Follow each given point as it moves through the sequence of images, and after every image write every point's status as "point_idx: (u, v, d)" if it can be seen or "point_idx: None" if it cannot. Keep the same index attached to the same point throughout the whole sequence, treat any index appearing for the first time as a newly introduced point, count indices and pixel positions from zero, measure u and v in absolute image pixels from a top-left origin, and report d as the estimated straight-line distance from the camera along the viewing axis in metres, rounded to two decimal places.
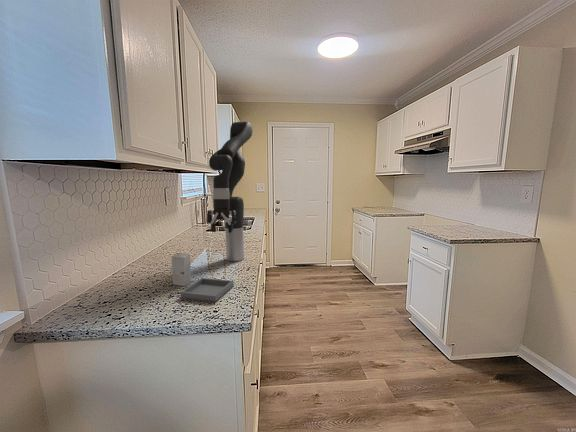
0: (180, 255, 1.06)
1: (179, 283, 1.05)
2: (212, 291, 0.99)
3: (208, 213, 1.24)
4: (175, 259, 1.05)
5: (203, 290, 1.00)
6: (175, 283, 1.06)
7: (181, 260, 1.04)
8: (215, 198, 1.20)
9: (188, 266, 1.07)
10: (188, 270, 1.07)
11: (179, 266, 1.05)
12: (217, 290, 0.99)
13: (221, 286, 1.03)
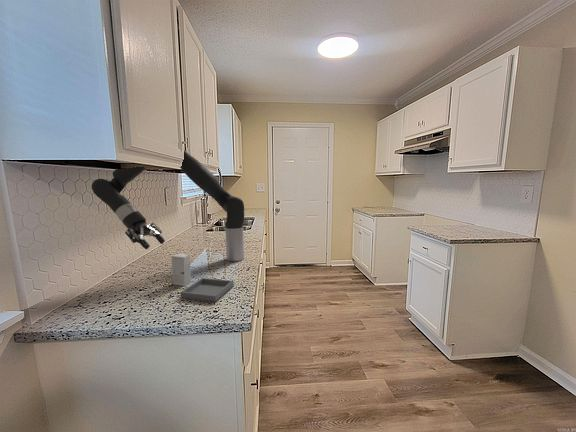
0: (180, 255, 1.06)
1: (179, 283, 1.05)
2: (212, 291, 0.99)
3: None
4: (175, 259, 1.05)
5: (203, 290, 1.00)
6: (175, 283, 1.06)
7: (181, 260, 1.04)
8: None
9: (188, 266, 1.07)
10: (188, 270, 1.07)
11: (179, 266, 1.05)
12: (217, 290, 0.99)
13: (221, 286, 1.03)
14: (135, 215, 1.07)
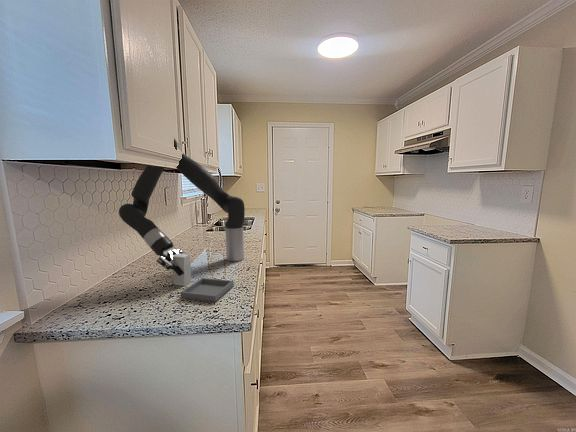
0: (180, 255, 1.06)
1: (179, 283, 1.05)
2: (212, 291, 0.99)
3: None
4: (175, 259, 1.05)
5: (203, 290, 1.00)
6: (175, 283, 1.06)
7: (181, 260, 1.04)
8: None
9: (188, 266, 1.07)
10: (188, 270, 1.07)
11: (179, 266, 1.04)
12: (217, 290, 0.99)
13: (221, 286, 1.03)
14: (163, 240, 1.05)
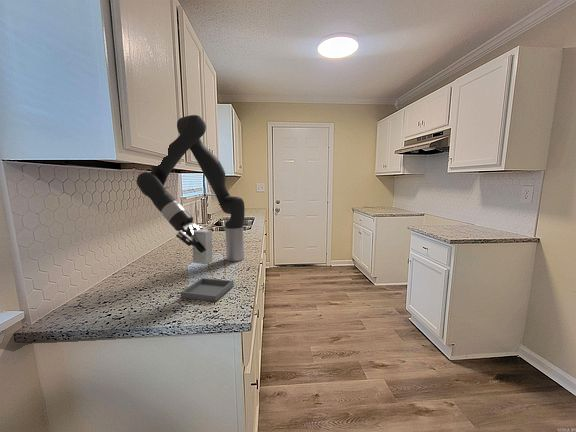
0: (201, 230, 0.96)
1: (200, 261, 0.96)
2: (212, 291, 0.99)
3: None
4: (196, 234, 0.95)
5: (203, 290, 1.00)
6: (195, 261, 0.97)
7: (203, 236, 0.94)
8: None
9: (210, 243, 0.97)
10: (210, 247, 0.97)
11: (200, 242, 0.95)
12: (217, 290, 0.99)
13: (221, 286, 1.03)
14: (183, 214, 0.96)
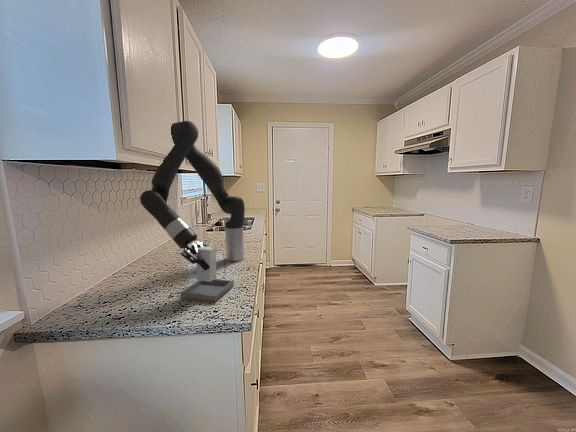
0: (205, 248, 0.96)
1: (204, 278, 0.96)
2: (212, 291, 0.99)
3: None
4: (201, 252, 0.95)
5: (203, 290, 1.00)
6: (199, 279, 0.97)
7: (207, 254, 0.95)
8: None
9: (214, 260, 0.97)
10: (214, 264, 0.97)
11: (205, 260, 0.95)
12: (217, 290, 0.99)
13: (221, 286, 1.03)
14: (187, 232, 0.96)
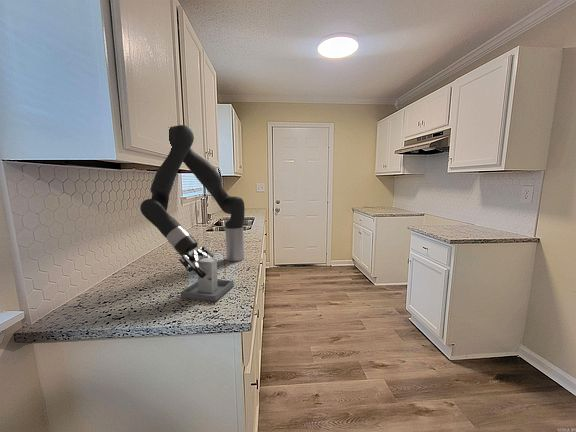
0: (206, 260, 0.97)
1: (206, 290, 0.97)
2: None
3: None
4: (202, 264, 0.96)
5: None
6: (201, 290, 0.98)
7: (209, 265, 0.96)
8: None
9: (215, 271, 0.98)
10: (215, 276, 0.99)
11: (206, 271, 0.96)
12: (217, 290, 0.99)
13: (221, 286, 1.03)
14: (188, 240, 0.97)
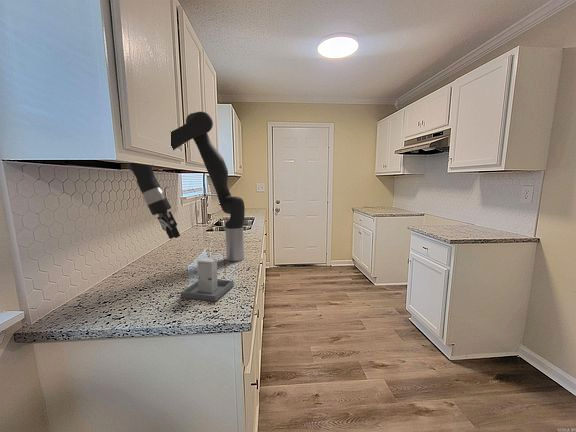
0: (206, 260, 0.97)
1: (206, 290, 0.97)
2: None
3: (159, 220, 1.09)
4: (202, 264, 0.96)
5: None
6: (201, 290, 0.98)
7: (209, 265, 0.96)
8: (147, 205, 1.03)
9: (215, 271, 0.98)
10: (215, 276, 0.99)
11: (206, 271, 0.96)
12: (217, 290, 0.99)
13: (221, 286, 1.03)
14: (168, 202, 1.05)
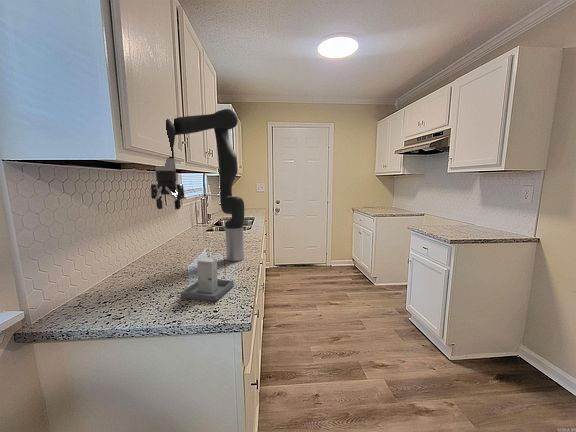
0: (206, 260, 0.97)
1: (206, 290, 0.97)
2: None
3: (152, 187, 1.09)
4: (202, 264, 0.96)
5: None
6: (201, 290, 0.98)
7: (209, 265, 0.96)
8: (157, 170, 1.05)
9: (215, 271, 0.98)
10: (215, 276, 0.99)
11: (206, 271, 0.96)
12: (217, 290, 0.99)
13: (221, 286, 1.03)
14: None
